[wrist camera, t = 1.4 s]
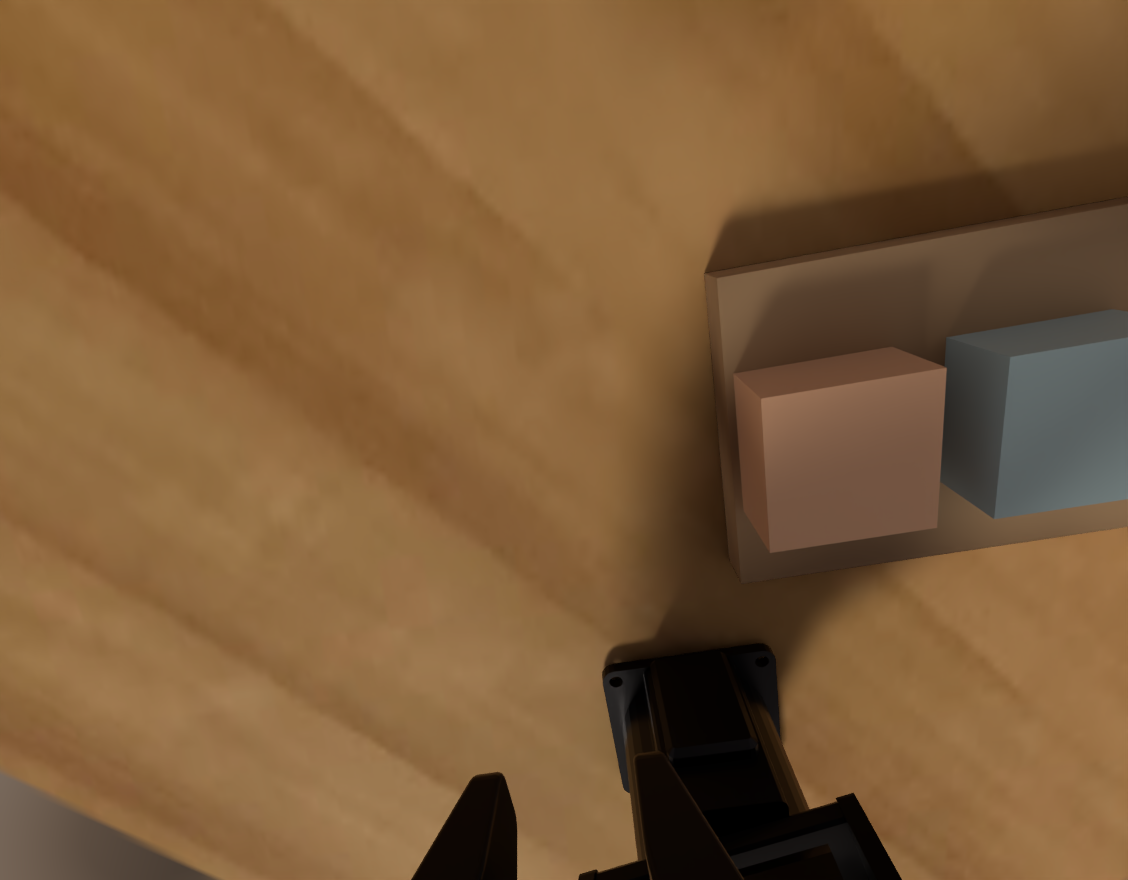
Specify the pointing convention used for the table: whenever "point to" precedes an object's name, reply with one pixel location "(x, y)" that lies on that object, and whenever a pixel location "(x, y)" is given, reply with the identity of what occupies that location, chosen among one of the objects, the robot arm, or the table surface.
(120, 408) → the table surface
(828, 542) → the terracotta tile
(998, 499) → the slate tile
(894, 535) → the board
